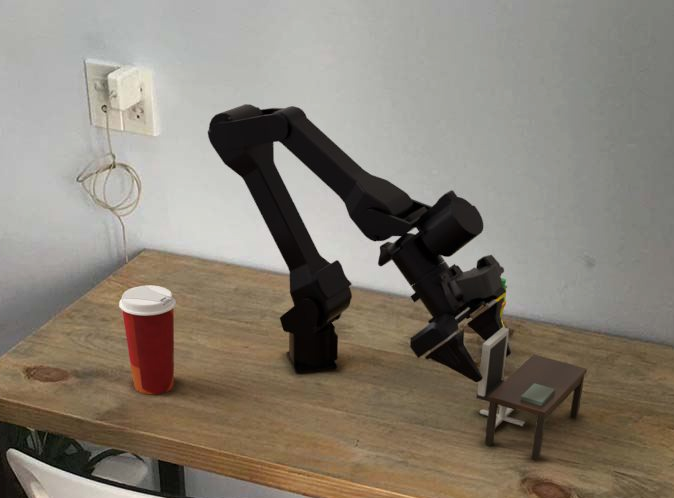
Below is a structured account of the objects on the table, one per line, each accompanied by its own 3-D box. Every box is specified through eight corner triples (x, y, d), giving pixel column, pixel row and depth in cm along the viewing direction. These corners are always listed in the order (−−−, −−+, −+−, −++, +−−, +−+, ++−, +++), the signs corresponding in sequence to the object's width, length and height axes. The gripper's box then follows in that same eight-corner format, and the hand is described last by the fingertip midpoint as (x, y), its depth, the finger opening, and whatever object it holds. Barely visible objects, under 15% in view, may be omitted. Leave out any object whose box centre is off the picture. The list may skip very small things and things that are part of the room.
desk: (483, 445, 151) (488, 391, 146) (527, 400, 162) (534, 349, 157) (537, 462, 148) (545, 408, 143) (579, 415, 159) (587, 364, 154)
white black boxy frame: (467, 424, 155) (475, 343, 149) (489, 403, 161) (497, 324, 154) (514, 438, 153) (525, 356, 146) (535, 417, 158) (546, 337, 151)
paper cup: (191, 380, 163) (186, 290, 155) (161, 402, 157) (154, 310, 149) (146, 368, 166) (138, 279, 158) (115, 390, 160) (105, 298, 152)
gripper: (436, 264, 139) (508, 366, 141) (499, 222, 153) (564, 315, 155) (379, 308, 147) (448, 405, 148) (444, 264, 160) (506, 353, 162)
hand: (494, 367), depth 153 cm, fingers open, 9 cm apart
